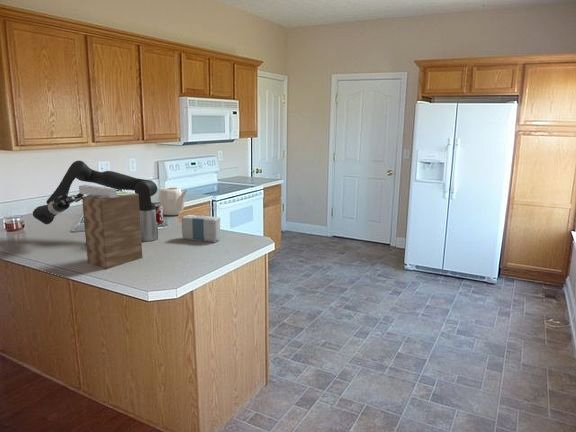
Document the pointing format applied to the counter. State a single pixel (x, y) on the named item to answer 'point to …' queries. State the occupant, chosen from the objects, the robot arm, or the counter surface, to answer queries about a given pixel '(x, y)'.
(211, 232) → the white banded box
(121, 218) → the stand
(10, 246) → the counter surface
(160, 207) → the soda can
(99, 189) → the bar
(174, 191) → the cream teapot
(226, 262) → the counter surface
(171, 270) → the counter surface
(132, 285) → the counter surface
